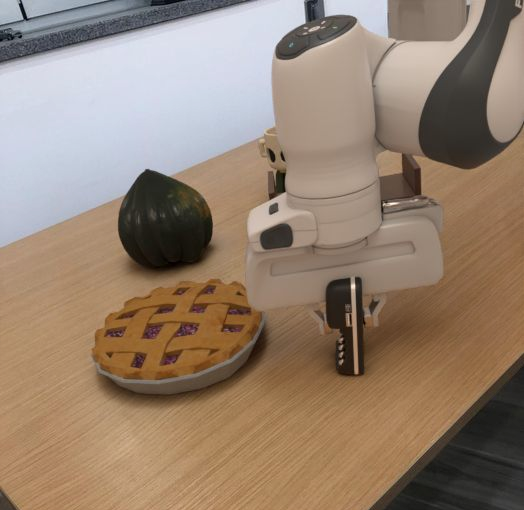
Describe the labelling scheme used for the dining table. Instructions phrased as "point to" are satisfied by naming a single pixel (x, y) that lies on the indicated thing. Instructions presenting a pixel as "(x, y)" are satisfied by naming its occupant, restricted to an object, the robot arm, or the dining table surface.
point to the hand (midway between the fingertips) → (348, 328)
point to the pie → (178, 338)
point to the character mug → (274, 156)
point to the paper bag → (426, 19)
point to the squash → (163, 221)
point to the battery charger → (347, 323)
